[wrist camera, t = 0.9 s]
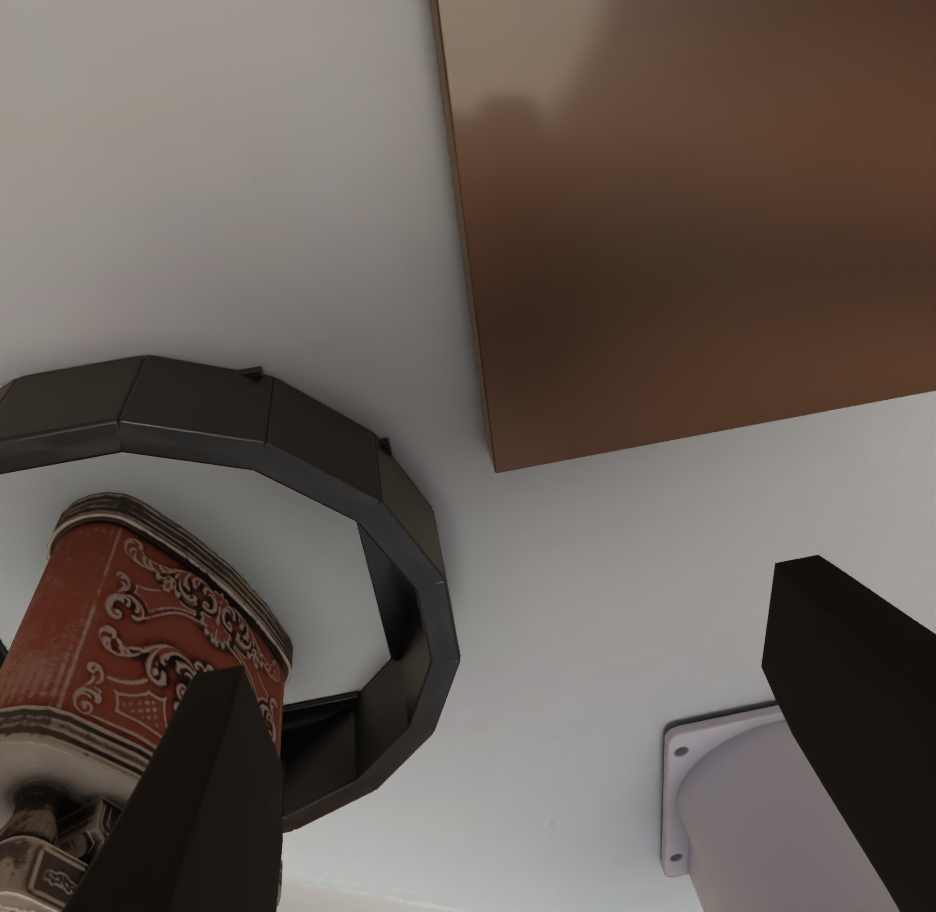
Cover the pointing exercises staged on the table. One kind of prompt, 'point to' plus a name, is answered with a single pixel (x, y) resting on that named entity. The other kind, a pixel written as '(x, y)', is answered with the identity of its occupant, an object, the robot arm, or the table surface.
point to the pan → (308, 472)
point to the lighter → (112, 682)
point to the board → (689, 212)
